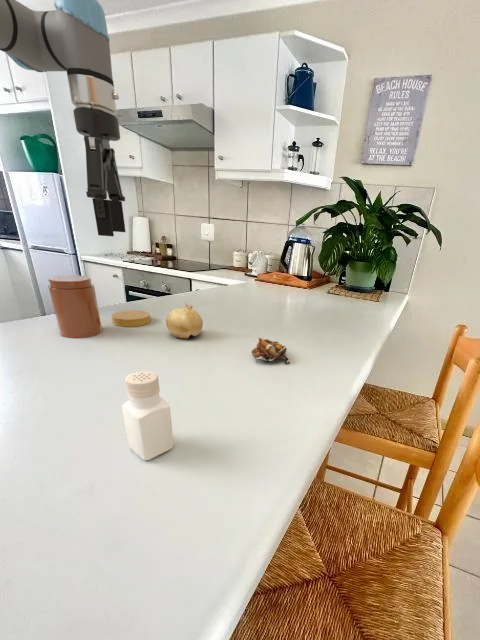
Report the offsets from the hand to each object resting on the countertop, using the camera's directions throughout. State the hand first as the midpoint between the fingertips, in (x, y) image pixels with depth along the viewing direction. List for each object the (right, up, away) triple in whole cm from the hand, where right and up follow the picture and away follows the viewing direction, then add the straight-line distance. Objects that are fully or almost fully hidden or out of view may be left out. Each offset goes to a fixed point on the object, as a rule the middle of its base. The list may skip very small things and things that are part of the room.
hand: (113, 233), depth 71 cm
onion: (+15, -22, +3) cm, 27 cm away
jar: (-7, -22, 0) cm, 23 cm away
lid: (0, -16, +8) cm, 18 cm away
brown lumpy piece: (+35, -27, -3) cm, 44 cm away
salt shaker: (+22, -41, -33) cm, 57 cm away
